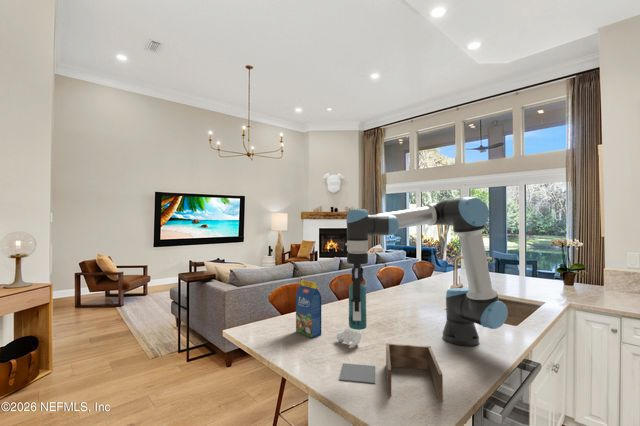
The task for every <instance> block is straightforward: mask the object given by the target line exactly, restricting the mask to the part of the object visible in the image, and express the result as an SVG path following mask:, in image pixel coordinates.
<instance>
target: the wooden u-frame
mask: <svg viewBox="0 0 640 426" xmlns="http://www.w3.org/2000/svg"><path fill="white" fill-rule="evenodd" d="M385 362H386V363H385V365H386V366H385V367H386V369H385V370H386V381H387V383H386V384H387V385H386V386H387V397H392V367H393V368H394V367H395V368H403V369H404V368H405V369H416V370H417V369H418V370H426V371H427V370H428V372H429V375H430V379H431V381H432V383H433V386H434V387H433V388H434V390H435V392H436V395H437V399H438V401H439V402H444V394H443V393H444V391H443V387H444V386H443V385H444V384H443V382H444V381H443V376H444V375H443V372H442V369H441V368H440V366H439V362H438V361H437V359H436V355H435V354H434V351H433V348H432V346H428V345H416V344H403V343H402V344H401V343H400V344H399V343H389V342H388V343H387V342H386V344H385Z"/></svg>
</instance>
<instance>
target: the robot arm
mask: <svg viewBox="0 0 640 426" xmlns="http://www.w3.org/2000/svg"><path fill="white" fill-rule="evenodd" d="M489 217H490V210H489V207H488V205H487V203H486V202H485V201H484V200H482V199H481V198H479V197H475V196H465V197H456V198H447V199H443V200H440V201H437V202H436V201H435V202H432V203H426V204H425V205H424V206H421V207H415V208H409V209H401V210H396V211H394V210H393V211H389V212H388V211H386V212H383V213H382V212H381V213H376V214H369V211H368V210H367V209H365V208H364V209H361V208H359V209H358V208H356V209H349V210H347V212H346V242H344V243H345V244H344V245H345V246H346V251H347V254H346V263H347V264H349V265H353V267H352V268H351V282H352V284H353V298H352V300H351V302H353V320H354V321H361V299H360V292H361V284H363V281H362V275H363V274H364V268H363V267H362V265H367V264H368V263H369V253H368V252H369V236H394V235H396V234H397V233H398V231H399V229H405V228H412V227H416V226H417V227H418V226H421V225H427V226H439V225H440V226H452V227H453V233H455V234H456V235H457V236H458V238H459V243H460V248H461V254H462V259H463V264H464V269H465V276H466V280H467V285H468V288H466V287H463V288H462V287H457V288H456V287H455V288H449V289H447V290H446V291H445V293H446V295H445V307H446V308H445V313H446V316H445V318H446V321H445V325H444V327H443V330H442V339H443V340H444V341H446V342H448V343H451V344H453V345H458V346H465V347H471V346H477V345H479V344H480V336H479V332H478V331H477V327H476V324H477V325H479V326H482V327H483V328H487V329H490V330H497V329H499V328H501V327H502V326H503V325H504V324H505V322H506V320H507V318H508V314H509V313H508V307H507V304H506V303H504V302H503V301H501V300H499V295H498V292H497V291H496V290H495V289H494V288H493V286H492V285H493V284H492V281H491V275H490V270H489V264H488V259H487V254H486V248H485V243H484V238H483V231H484V230H485V229H486V223H487V222H488V221H489ZM360 275H361V278H360ZM355 297H358V298H355Z"/></svg>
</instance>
